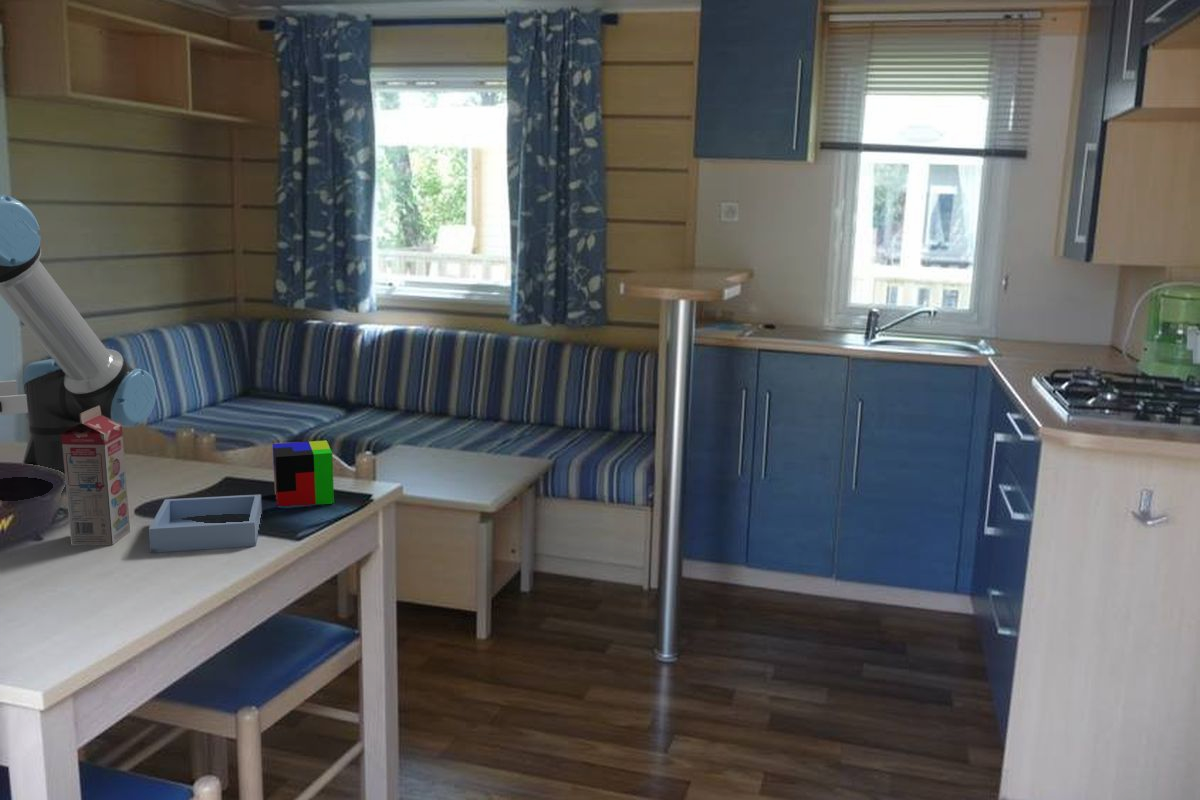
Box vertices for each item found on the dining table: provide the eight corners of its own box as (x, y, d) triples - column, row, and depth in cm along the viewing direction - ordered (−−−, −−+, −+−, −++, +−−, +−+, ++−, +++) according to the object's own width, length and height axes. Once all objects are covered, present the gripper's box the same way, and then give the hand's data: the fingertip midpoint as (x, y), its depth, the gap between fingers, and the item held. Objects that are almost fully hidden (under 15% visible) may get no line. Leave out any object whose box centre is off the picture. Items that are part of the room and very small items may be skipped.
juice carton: (71, 544, 162) (59, 413, 158) (90, 531, 169) (79, 404, 164) (112, 545, 162) (101, 413, 158) (130, 531, 169) (120, 405, 165)
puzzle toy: (274, 494, 192) (272, 443, 190) (328, 489, 195) (326, 440, 193) (278, 509, 183) (275, 456, 181) (334, 504, 186) (332, 453, 184)
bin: (166, 521, 175) (164, 499, 174) (262, 515, 179) (261, 494, 178) (150, 552, 159) (148, 529, 159) (255, 545, 163) (254, 522, 163)
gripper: (-142, 418, 154) (15, 405, 166) (-147, 453, 134) (33, 435, 146) (-148, 370, 152) (11, 360, 165) (-154, 398, 133) (28, 385, 145)
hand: (22, 395), depth 155 cm, fingers open, 13 cm apart
